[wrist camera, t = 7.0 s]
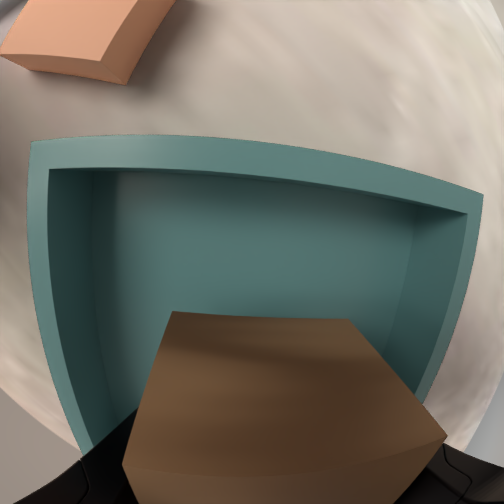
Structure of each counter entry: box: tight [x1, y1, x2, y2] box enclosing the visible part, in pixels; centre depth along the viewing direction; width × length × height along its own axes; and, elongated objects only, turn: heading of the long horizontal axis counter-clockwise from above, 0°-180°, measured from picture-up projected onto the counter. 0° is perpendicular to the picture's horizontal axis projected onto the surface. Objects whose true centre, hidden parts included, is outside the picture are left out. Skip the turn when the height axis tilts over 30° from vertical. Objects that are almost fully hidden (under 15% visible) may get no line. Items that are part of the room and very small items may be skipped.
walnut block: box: [122, 311, 448, 504], centre depth 6 cm, size 5×5×5 cm
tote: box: [27, 135, 483, 456], centre depth 10 cm, size 14×14×4 cm
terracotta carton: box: [0, 0, 176, 86], centre depth 7 cm, size 6×5×3 cm
